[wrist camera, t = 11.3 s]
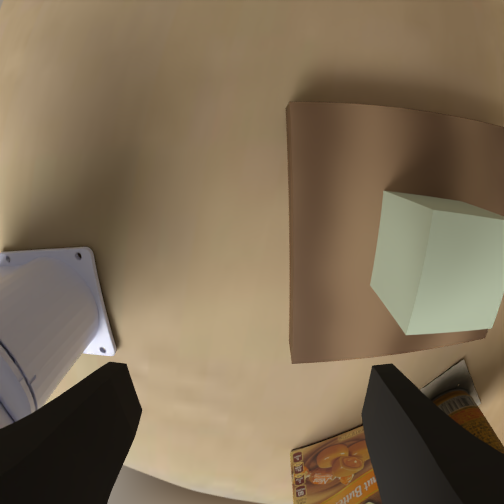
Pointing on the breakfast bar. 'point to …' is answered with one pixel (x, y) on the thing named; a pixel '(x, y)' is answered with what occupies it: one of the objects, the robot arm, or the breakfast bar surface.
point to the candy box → (334, 472)
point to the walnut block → (370, 214)
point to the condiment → (462, 403)
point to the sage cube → (438, 263)
